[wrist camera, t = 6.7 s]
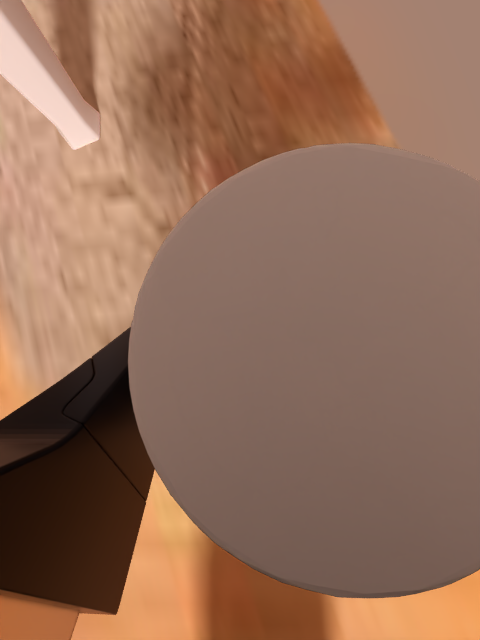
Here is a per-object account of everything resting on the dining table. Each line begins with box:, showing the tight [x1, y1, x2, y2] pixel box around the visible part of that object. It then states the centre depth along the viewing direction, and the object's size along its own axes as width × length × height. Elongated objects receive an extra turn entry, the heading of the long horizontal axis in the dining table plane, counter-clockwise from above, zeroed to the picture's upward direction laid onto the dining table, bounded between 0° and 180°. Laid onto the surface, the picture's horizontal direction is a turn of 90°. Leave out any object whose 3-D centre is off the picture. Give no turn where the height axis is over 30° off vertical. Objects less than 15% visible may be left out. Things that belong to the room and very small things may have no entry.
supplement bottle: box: [128, 143, 480, 598], centre depth 9 cm, size 7×7×13 cm
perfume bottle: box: [0, 0, 100, 150], centre depth 16 cm, size 5×4×15 cm
